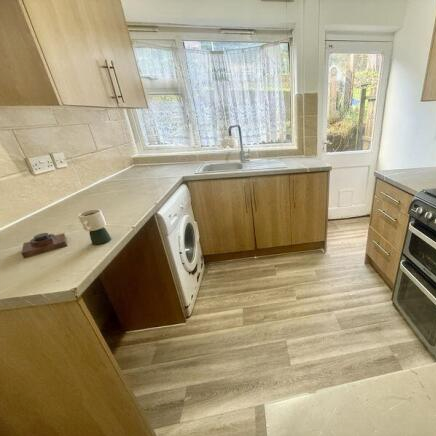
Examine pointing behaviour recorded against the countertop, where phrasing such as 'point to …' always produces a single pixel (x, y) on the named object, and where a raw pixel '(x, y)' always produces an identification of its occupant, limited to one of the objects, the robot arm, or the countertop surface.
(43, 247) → the button box
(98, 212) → the character mug
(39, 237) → the button
